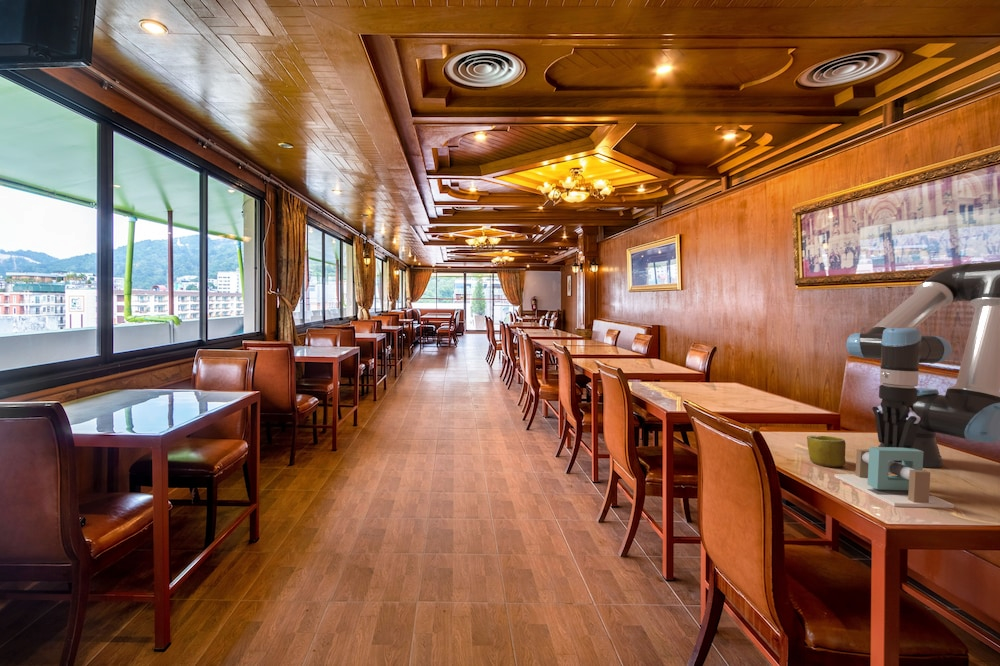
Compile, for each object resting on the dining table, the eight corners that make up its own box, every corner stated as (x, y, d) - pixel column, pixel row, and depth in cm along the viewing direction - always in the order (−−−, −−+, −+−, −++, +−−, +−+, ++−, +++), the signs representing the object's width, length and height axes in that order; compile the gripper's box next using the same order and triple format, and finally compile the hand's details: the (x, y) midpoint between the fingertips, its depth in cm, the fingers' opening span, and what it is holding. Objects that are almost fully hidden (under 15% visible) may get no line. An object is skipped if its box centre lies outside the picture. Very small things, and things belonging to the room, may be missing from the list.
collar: (867, 484, 112) (869, 446, 112) (910, 485, 112) (912, 447, 112) (877, 489, 109) (879, 450, 109) (921, 490, 109) (923, 451, 109)
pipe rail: (834, 476, 122) (835, 448, 122) (884, 478, 122) (886, 449, 121) (894, 506, 103) (896, 472, 103) (954, 507, 103) (956, 474, 102)
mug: (861, 465, 126) (846, 431, 128) (823, 473, 128) (809, 439, 130) (840, 460, 138) (827, 429, 140) (805, 467, 140) (793, 437, 142)
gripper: (863, 381, 122) (859, 463, 122) (905, 389, 109) (900, 481, 109) (891, 382, 121) (886, 464, 122) (936, 390, 108) (930, 482, 109)
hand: (893, 472), depth 116 cm, fingers closed
